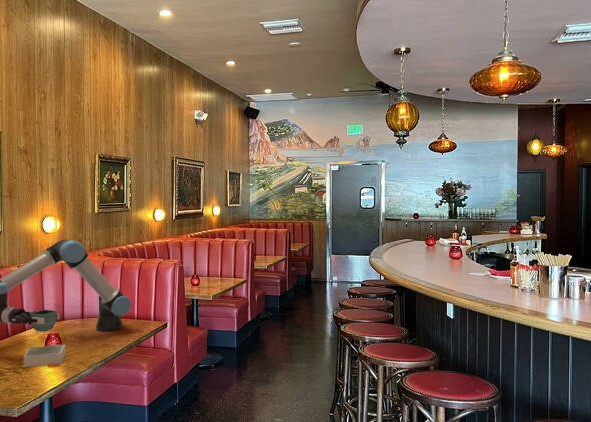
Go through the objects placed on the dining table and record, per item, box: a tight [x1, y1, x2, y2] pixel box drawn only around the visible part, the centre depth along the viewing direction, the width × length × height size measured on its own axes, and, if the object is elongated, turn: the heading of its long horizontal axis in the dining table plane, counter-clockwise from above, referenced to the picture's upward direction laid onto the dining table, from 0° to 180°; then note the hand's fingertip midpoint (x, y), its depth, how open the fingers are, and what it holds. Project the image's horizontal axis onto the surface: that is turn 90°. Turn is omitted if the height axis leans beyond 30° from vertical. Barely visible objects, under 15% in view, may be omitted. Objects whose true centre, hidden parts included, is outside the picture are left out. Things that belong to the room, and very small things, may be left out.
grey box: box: [23, 344, 66, 368], centre depth 233 cm, size 16×14×6 cm
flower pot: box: [30, 309, 58, 333], centre depth 234 cm, size 9×9×9 cm
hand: (51, 318), depth 232 cm, fingers closed on flower pot, 9 cm apart
